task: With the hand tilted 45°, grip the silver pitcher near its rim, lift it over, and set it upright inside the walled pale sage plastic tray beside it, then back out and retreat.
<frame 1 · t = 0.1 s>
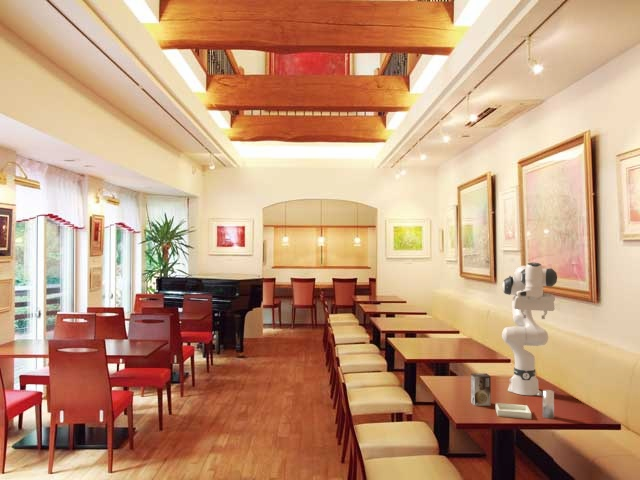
hand: (533, 318, 272), 48 cm above the table, tool pointing down, fingers open, 8 cm apart
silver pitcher: (548, 416, 257), on the table
coffee box: (480, 404, 277), on the table
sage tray: (512, 413, 262), on the table
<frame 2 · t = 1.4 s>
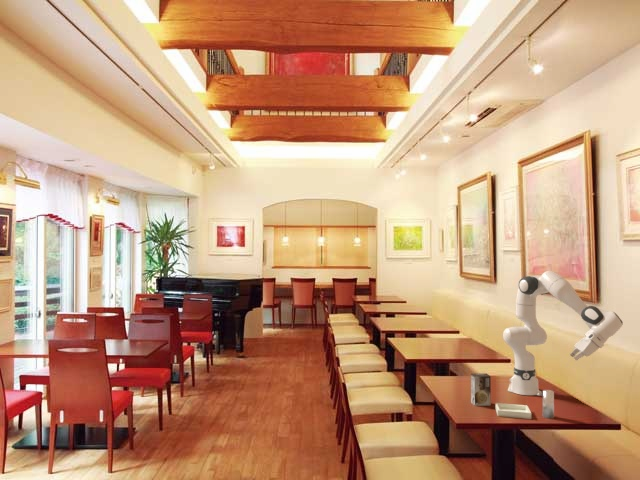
hand: (572, 357, 255), 31 cm above the table, tool tilted 45°, fingers open, 8 cm apart
nothing on the table moved.
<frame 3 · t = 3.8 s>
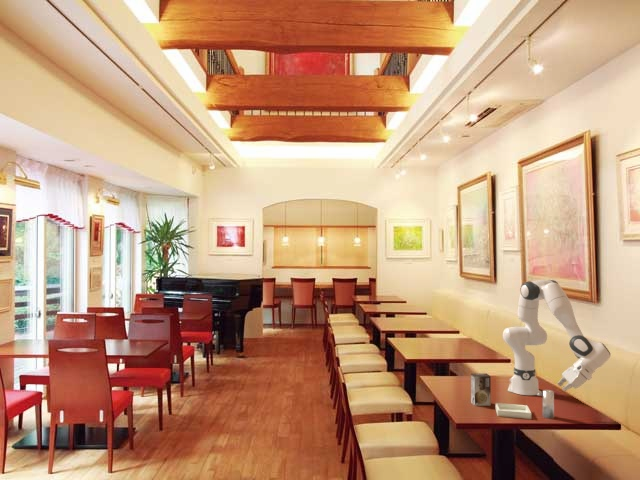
hand: (560, 387, 256), 15 cm above the table, tool tilted 45°, fingers open, 8 cm apart
nothing on the table moved.
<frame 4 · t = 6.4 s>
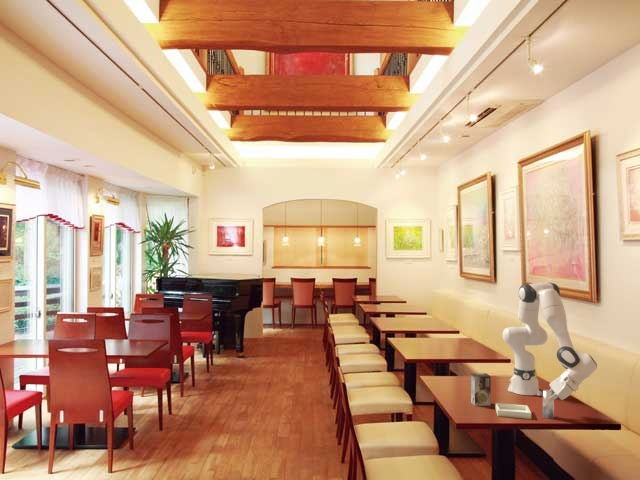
hand: (548, 398, 257), 9 cm above the table, tool tilted 45°, fingers closed on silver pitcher, 5 cm apart
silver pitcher: (548, 416, 257), on the table, touching gripper
everything else where it was.
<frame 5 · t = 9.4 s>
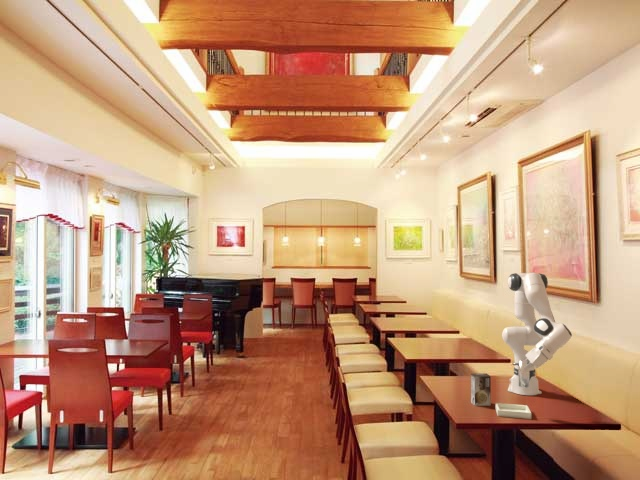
hand: (523, 367, 261), 24 cm above the table, tool tilted 45°, fingers closed on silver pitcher, 5 cm apart
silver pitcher: (523, 386, 261), point 15 cm above the table, touching gripper
everything else where it was.
when the fingers open (12 cm above the table, at t = 12.7 s): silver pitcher drops 1 cm, resting on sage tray.
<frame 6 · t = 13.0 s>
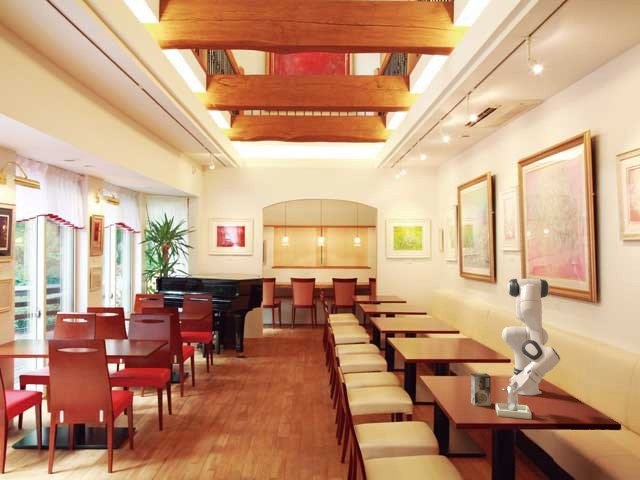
hand: (512, 390, 262), 12 cm above the table, tool tilted 45°, fingers open, 8 cm apart
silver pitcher: (512, 411, 262), point 1 cm above the table, touching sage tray
everything else where it was.
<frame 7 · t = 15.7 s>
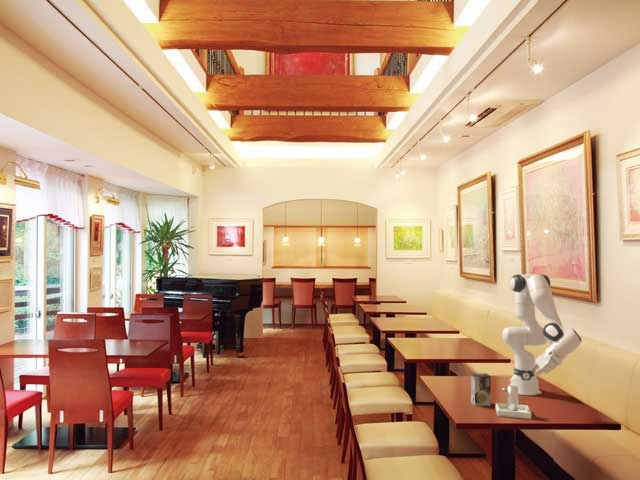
hand: (533, 373, 260), 22 cm above the table, tool tilted 45°, fingers open, 8 cm apart
nothing on the table moved.
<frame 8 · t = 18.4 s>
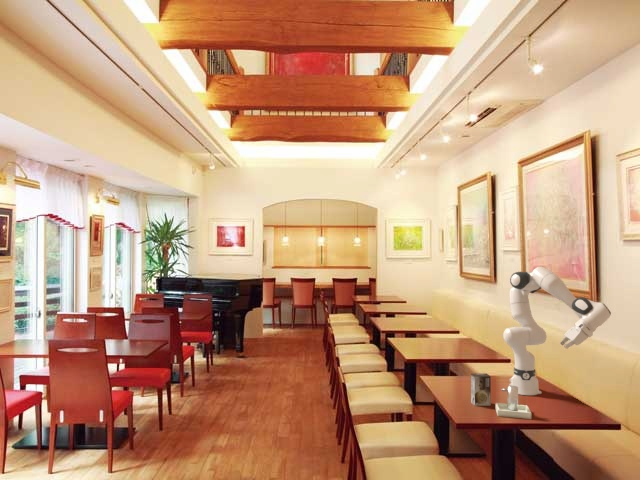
hand: (563, 345, 267), 34 cm above the table, tool tilted 45°, fingers open, 8 cm apart
nothing on the table moved.
at the end: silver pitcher inside the target area on the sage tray (0.1 cm from its centre), point 0.8 cm above the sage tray's base; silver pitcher tilted 0°; the gripper is holding nothing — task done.
